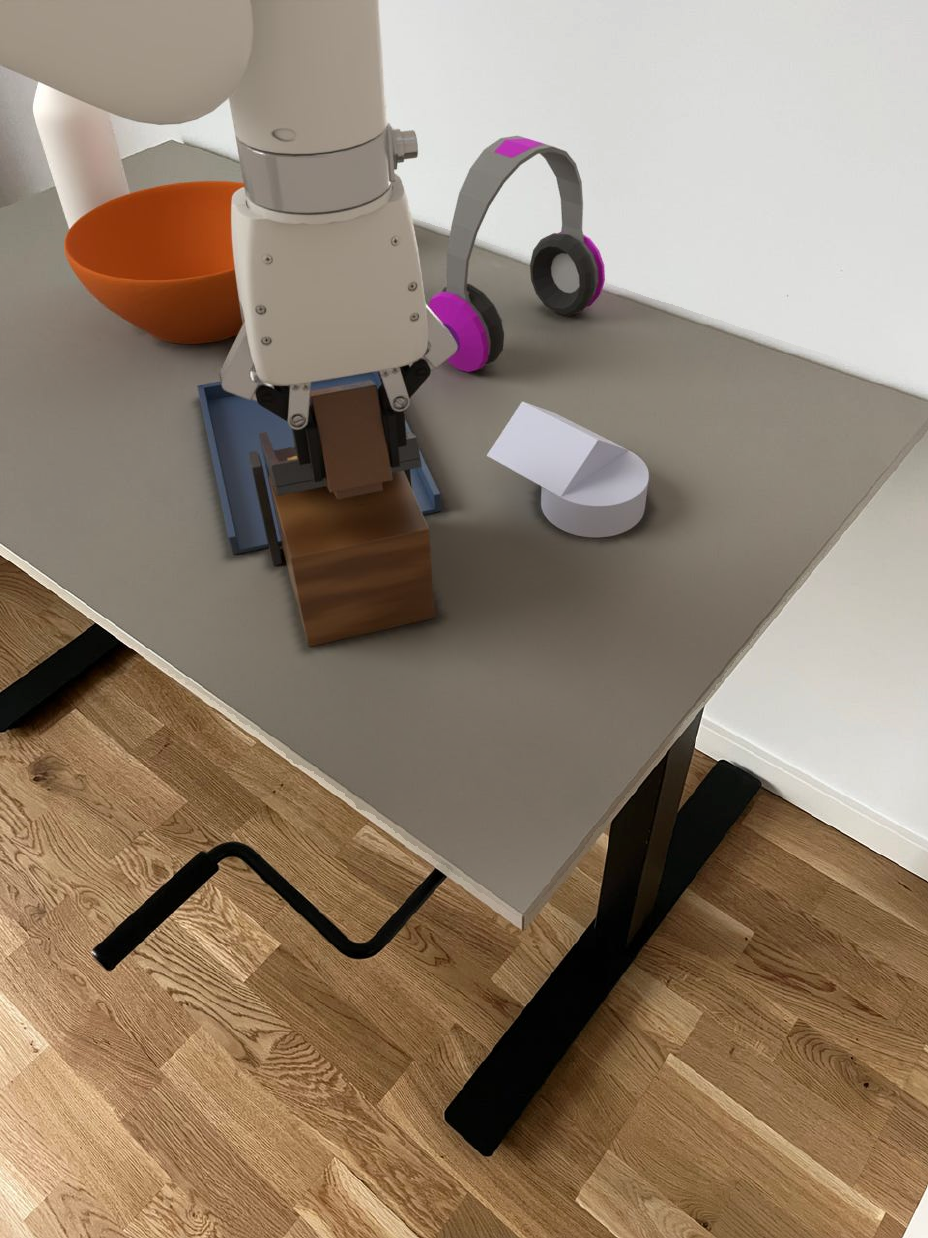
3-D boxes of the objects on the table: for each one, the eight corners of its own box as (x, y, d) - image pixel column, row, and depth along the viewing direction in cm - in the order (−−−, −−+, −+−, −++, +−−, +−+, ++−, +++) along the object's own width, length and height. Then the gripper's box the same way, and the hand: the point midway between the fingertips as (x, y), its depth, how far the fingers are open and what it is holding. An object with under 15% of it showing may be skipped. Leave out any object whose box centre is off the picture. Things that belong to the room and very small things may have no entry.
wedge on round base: (486, 486, 88) (599, 552, 82) (486, 422, 83) (605, 487, 77) (553, 443, 93) (665, 502, 86) (556, 380, 88) (675, 438, 81)
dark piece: (441, 484, 63) (424, 375, 60) (285, 516, 61) (261, 405, 58) (389, 435, 78) (374, 347, 76) (264, 460, 76) (244, 370, 74)
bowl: (60, 372, 104) (28, 282, 97) (125, 264, 122) (102, 181, 114) (297, 371, 103) (282, 280, 96) (327, 262, 121) (317, 178, 113)
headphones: (548, 290, 114) (555, 104, 100) (609, 314, 110) (625, 123, 95) (420, 360, 104) (407, 164, 90) (480, 390, 99) (477, 189, 85)
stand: (448, 614, 77) (443, 514, 70) (294, 650, 75) (272, 550, 67) (409, 520, 85) (401, 422, 78) (269, 549, 83) (247, 451, 76)
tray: (441, 511, 86) (440, 493, 85) (232, 555, 82) (228, 537, 81) (376, 369, 103) (375, 353, 101) (201, 401, 99) (197, 385, 98)
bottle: (139, 269, 120) (62, -16, 99) (73, 273, 120) (-19, -12, 99) (150, 241, 126) (79, -35, 105) (86, 244, 126) (2, -31, 105)
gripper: (455, 122, 54) (463, 408, 67) (143, 160, 51) (214, 453, 64) (496, 172, 49) (496, 472, 62) (152, 218, 46) (227, 523, 59)
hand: (352, 459), depth 63 cm, fingers closed on dark piece, 4 cm apart
